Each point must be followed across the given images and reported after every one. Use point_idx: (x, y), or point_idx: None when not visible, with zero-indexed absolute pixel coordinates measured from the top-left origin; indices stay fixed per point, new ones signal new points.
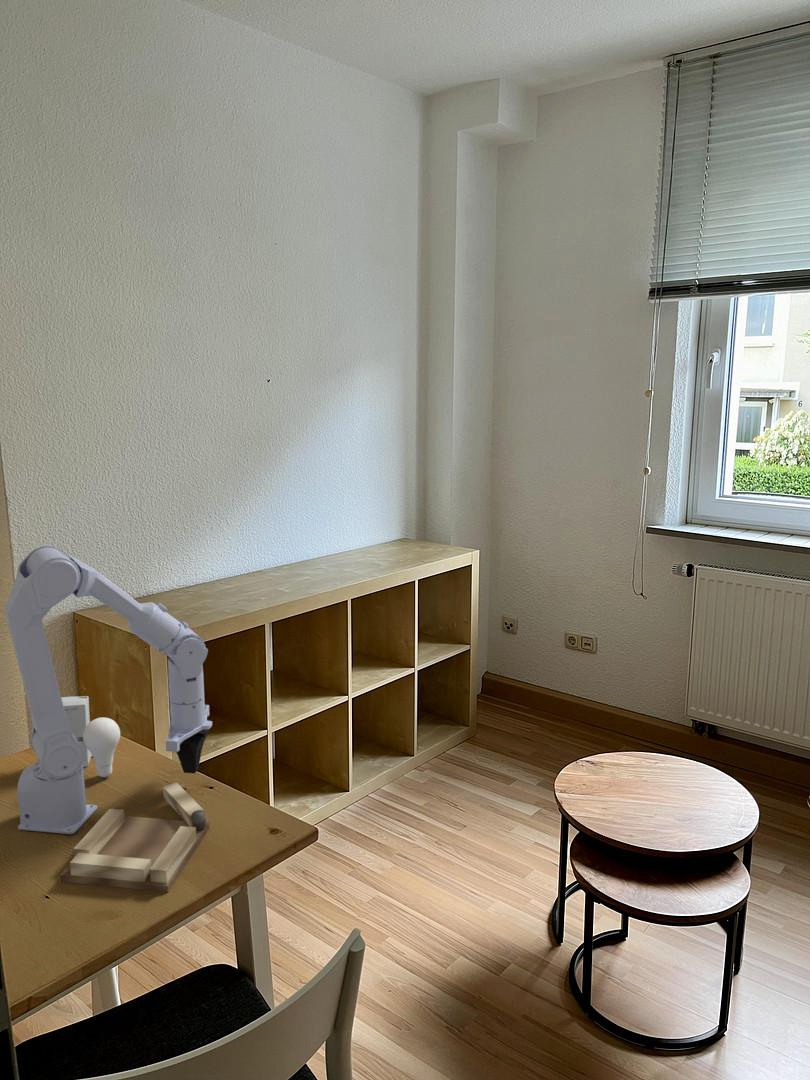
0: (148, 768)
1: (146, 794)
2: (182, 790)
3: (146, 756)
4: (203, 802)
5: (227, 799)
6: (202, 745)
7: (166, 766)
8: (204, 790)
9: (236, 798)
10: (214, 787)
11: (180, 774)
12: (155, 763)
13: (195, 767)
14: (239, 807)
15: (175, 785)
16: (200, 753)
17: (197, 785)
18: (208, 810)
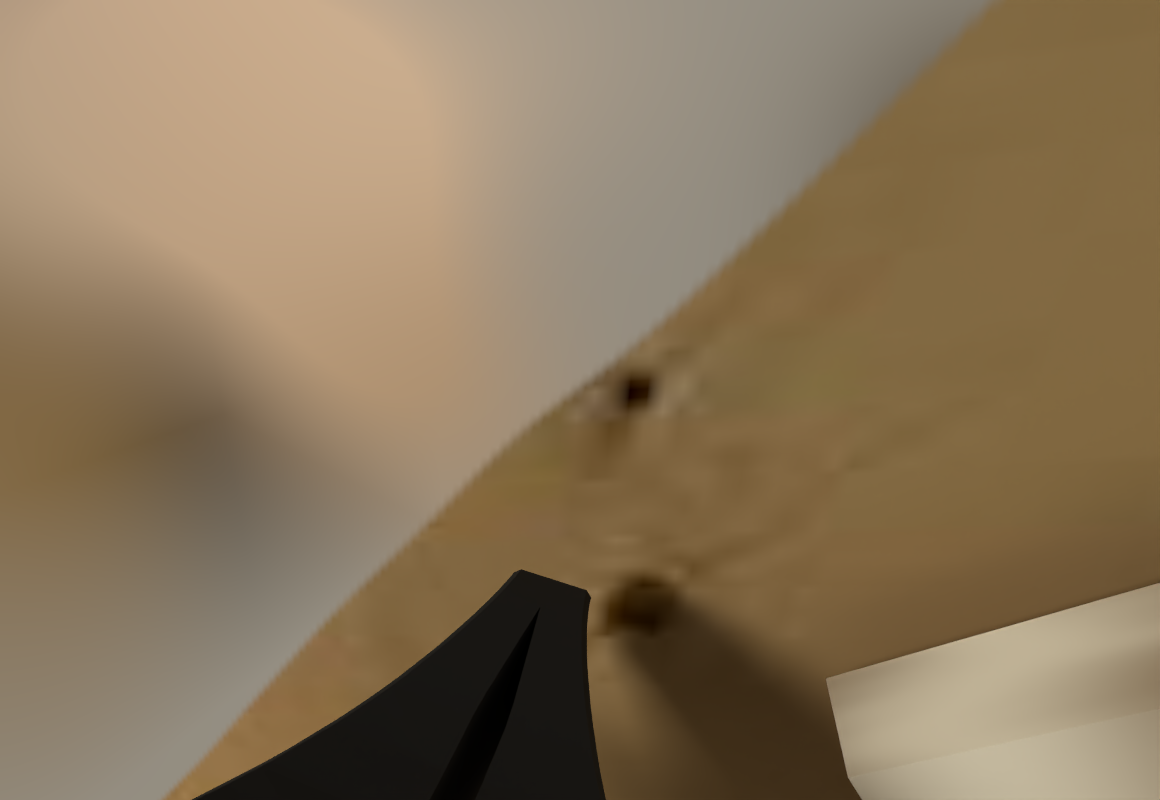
0: None
1: (688, 794)
2: (1076, 744)
3: (239, 771)
4: (902, 442)
5: (899, 217)
6: (346, 749)
7: (334, 685)
8: (680, 445)
9: (900, 116)
10: (636, 366)
11: (428, 612)
12: (307, 736)
13: (584, 634)
14: (1141, 44)
15: (925, 793)
16: (440, 679)
17: (591, 500)
18: (1085, 388)
